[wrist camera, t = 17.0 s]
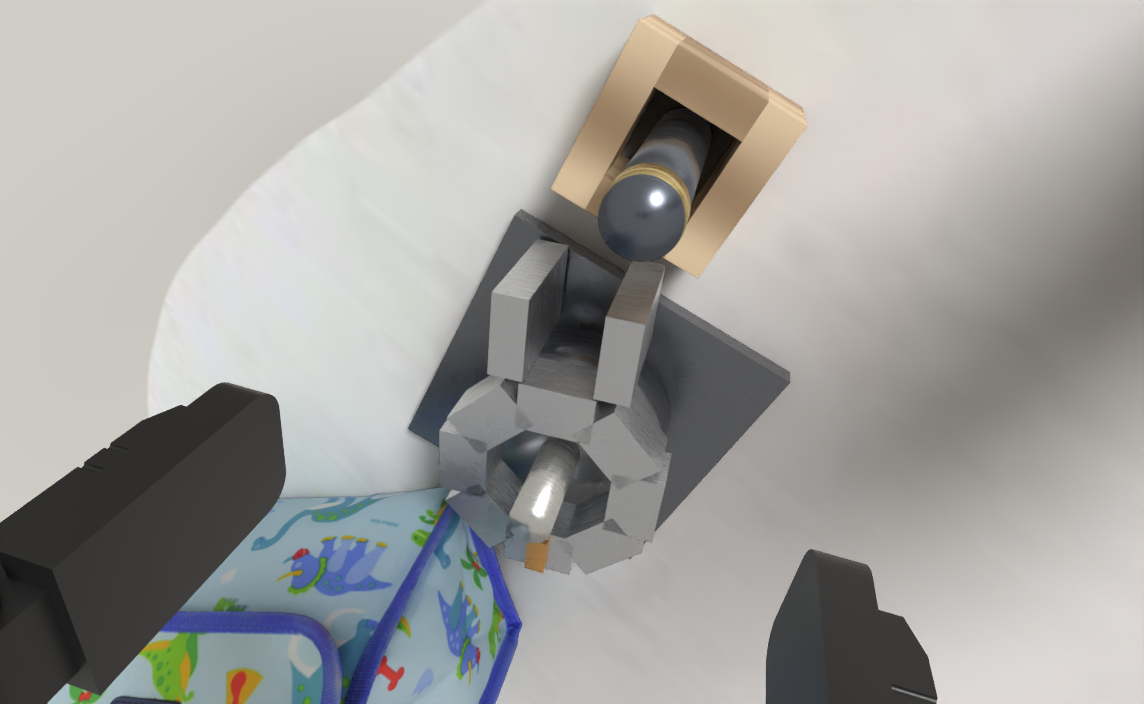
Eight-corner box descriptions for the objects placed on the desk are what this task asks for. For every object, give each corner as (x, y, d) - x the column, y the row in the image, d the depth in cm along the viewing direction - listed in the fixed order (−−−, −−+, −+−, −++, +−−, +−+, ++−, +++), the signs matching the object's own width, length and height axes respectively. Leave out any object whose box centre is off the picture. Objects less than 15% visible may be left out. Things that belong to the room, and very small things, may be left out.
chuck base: (521, 209, 34) (434, 292, 25) (789, 372, 35) (797, 510, 26) (415, 420, 42) (322, 538, 34) (632, 547, 43) (598, 696, 34)
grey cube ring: (712, 273, 32) (699, 342, 26) (657, 507, 39) (637, 602, 33) (494, 230, 33) (436, 286, 28) (482, 462, 41) (434, 545, 35)
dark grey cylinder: (719, 113, 30) (694, 186, 19) (704, 173, 31) (674, 271, 21) (658, 101, 30) (604, 167, 20) (647, 162, 31) (590, 252, 21)
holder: (653, 14, 28) (638, 20, 25) (802, 107, 29) (807, 125, 25) (573, 166, 32) (550, 188, 29) (704, 247, 33) (697, 278, 29)
